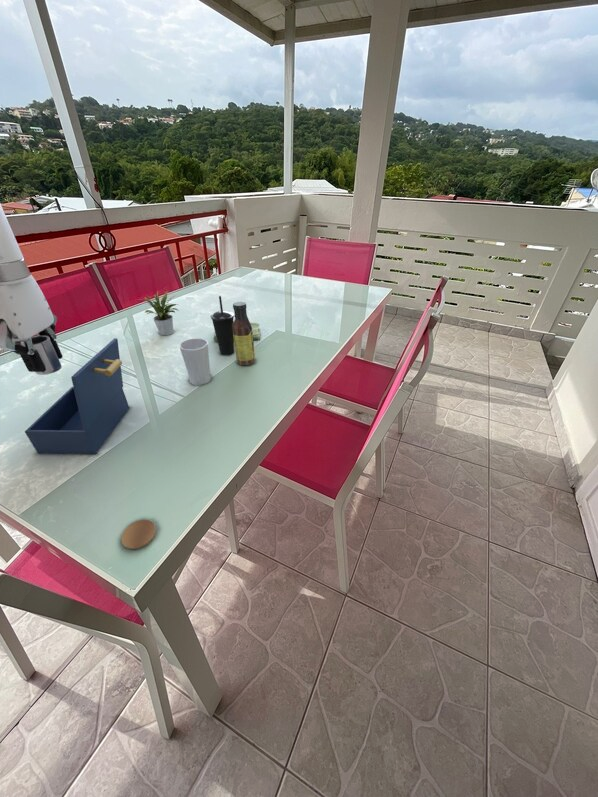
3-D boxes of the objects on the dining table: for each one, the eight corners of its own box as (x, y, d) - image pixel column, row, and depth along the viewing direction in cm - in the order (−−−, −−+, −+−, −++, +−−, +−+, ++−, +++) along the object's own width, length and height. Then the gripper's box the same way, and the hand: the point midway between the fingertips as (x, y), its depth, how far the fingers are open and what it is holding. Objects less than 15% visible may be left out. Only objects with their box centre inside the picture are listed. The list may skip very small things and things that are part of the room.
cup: (218, 376, 103) (213, 341, 96) (202, 388, 97) (195, 352, 91) (198, 370, 106) (191, 336, 99) (181, 382, 100) (173, 346, 93)
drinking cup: (212, 356, 114) (203, 299, 103) (220, 346, 121) (213, 291, 109) (233, 358, 113) (227, 300, 102) (240, 348, 120) (235, 293, 108)
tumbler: (36, 377, 65) (21, 347, 62) (34, 368, 69) (20, 339, 65) (63, 370, 68) (50, 341, 64) (60, 362, 71) (47, 333, 67)
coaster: (126, 556, 55) (125, 554, 55) (118, 531, 59) (117, 530, 59) (160, 538, 58) (159, 536, 58) (150, 515, 62) (150, 514, 61)
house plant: (151, 344, 122) (139, 300, 112) (139, 332, 130) (127, 291, 121) (188, 334, 129) (180, 293, 120) (174, 324, 138) (166, 284, 128)
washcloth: (261, 341, 125) (260, 333, 123) (213, 343, 123) (212, 335, 121) (259, 327, 136) (259, 320, 134) (215, 329, 133) (214, 322, 132)
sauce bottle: (258, 363, 110) (254, 305, 99) (240, 368, 108) (234, 308, 96) (250, 355, 115) (245, 299, 104) (233, 359, 112) (226, 302, 101)
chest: (37, 453, 75) (24, 431, 71) (81, 407, 89) (71, 386, 86) (95, 454, 75) (85, 432, 71) (129, 407, 89) (122, 387, 86)
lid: (70, 376, 63) (94, 380, 63) (114, 338, 78) (133, 341, 78) (83, 430, 71) (103, 433, 71) (120, 385, 85) (137, 388, 86)
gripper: (15, 261, 64) (53, 346, 75) (-64, 285, 50) (-4, 386, 60) (54, 261, 64) (87, 346, 75) (-15, 285, 50) (37, 386, 61)
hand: (46, 363), depth 67 cm, fingers closed on tumbler, 4 cm apart
